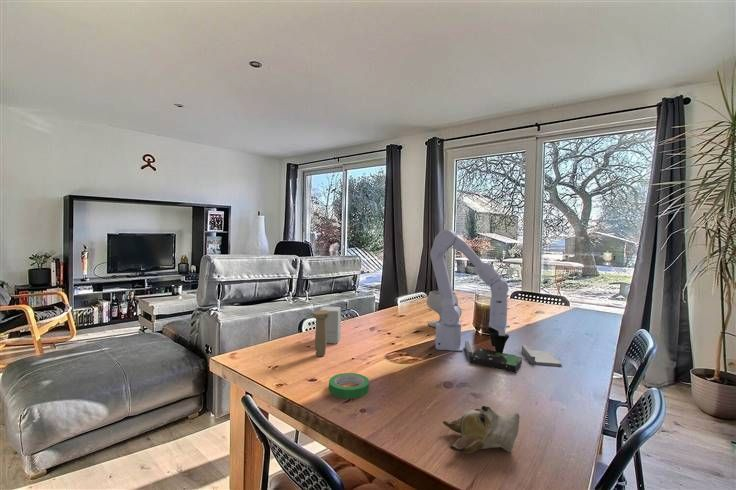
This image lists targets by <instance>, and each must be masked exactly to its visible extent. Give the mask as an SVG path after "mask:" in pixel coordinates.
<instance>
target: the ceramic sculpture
mask: <svg viewBox="0 0 736 490" xmlns="http://www.w3.org/2000/svg"><path fill="white" fill-rule="evenodd" d="M442 424H443V425H444V426H446V427H447V428H449V429H450V430H452V431H454V432H455V433H458V434H461V437H459V438H457V440H456V441H455V442H454V443H453V444H451V445H449V446H448V447H449V449H451V450H453V451H455V452H458V453H462V454H466V455H467V454H469V455H470V454H473V453H475V452H477V451H479V450H482V449H483V450H485V449H490V448H502V449H503V450H505V452H508V453H509V452H510V453H511V451H512V450H513V448H514V444H515V440H516V438H517V436H518V434H519V428H520V414H519V413H517V412H516V413H509V412H506V413H503V414H497V413H496V411H495V410H494V409H493V408H491V407H490V406H486V405H482V406H481V408H480V409H479V408H474V409H468V410H467V411H466V412H464V414H463V415H462V416H461V417H460V418H458V419H457V420H453V421H447V420H444V421H442Z"/></svg>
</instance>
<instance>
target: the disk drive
mask: <svg viewBox="0 0 736 490" xmlns="http://www.w3.org/2000/svg"><path fill="white" fill-rule="evenodd" d="M522 361H523V359H522V356H519V355H515V354H509V353H505V352H503V353H500V352H496V351H495V350H489V349H486V348H485V349H484V348H479V347H478V348H476V350H474V351H473V352H472V354H471V356H470V359H469V363H470V364H472V365H473V364H474V365H477V366H482V367H487V368H490V369H491V368H492V369H496V370H501V371H505V372H509V373H513V374H516V373H517V372H518V370H519V368H520V367H521V365H522V363H523V362H522Z"/></svg>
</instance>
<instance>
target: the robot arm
mask: <svg viewBox="0 0 736 490" xmlns="http://www.w3.org/2000/svg"><path fill="white" fill-rule="evenodd" d="M450 248H451V249H453V250H455V251H459V252H460V253H462V255H463V256H464V257H466V259H467V260H468V261H469V262H470V263H471V264H472V265H473V266H474V267H475V269H474V273H475V274H477V275H476V276H478V277H479V278H480V279H481V281H483V283H485V285H486V286H488V287H489V288H490V289H489V290H490V292H491V294H490V295H491V297H490V301H489V302H490V303H489V305H490V306H489V323H488V325H487V326H486V327H487V330H488V333H489V337H490V342H491V347H494V351H495V352H500V353H504V349H505V346H506V343H507V341H508V340H509V338H510V335H509V333H506V330H507V329H508V328H511V325H510V324H509V323H508V322H507V320H508V292H509V291H510V290H509V285H508V282H507V280H506V279H505V278H504V277H503V275H502V274H501V273H500V274H499V272H498V271H497V270H496V269H495V268H494V265H493V264H492V263H489V261H484V260H481V258H480V257H479V256H478V254H477V253H476V252H475V251H474V249H472V247H471V246H470V245H469V244H468V242H467V241H465V239H464V238H463V237H462V236H460V235H459V234H457V232H455V231H454V230H453V229H442V230H441V231H439V232H438V234H437V235H436V236H435V237H434V241H433V244H432V247H431V250H430V252H429V254H430V255H429V256H430V259H431V260H430V261H431V264H432V267H433V268H432V269H433V272H434V276H435V280H436V284H437V289H438V291H439V293H440V297H441V307H442V315H441V318H442V321H441V323H436V327H435V337H434V343H435V350H440V351H441V350H442V351H444V350H445V351H452V352H453V351H454V352H463V347H462V344H461V340H462V322H461V321H460V318H461V316H462V308H461V307H460V306H459V304H458V305H457V302H456V299H455V297H454V294H453V286H452V284H451V280H450V275H449V271H448V268H447V262H446V259H445V255H446V254H447V252H448V250H449V249H450Z"/></svg>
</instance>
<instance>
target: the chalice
mask: <svg viewBox="0 0 736 490" xmlns="http://www.w3.org/2000/svg"><path fill="white" fill-rule="evenodd" d="M453 294H454V297H455V299H456V302H457V305H458V306H459V299H458V296H457V294H456V293H455V292H453ZM426 298H427V299H426V305H427V306H428V308H429V309H431V310H432V311H433V312H435V313H437V314H438V316H439V319H438V320H432V321H429V322H428V326H431V327H432V328H436V323H441V321H442V318H441V315H442V307H441V297H440V293H439V290H432V291H430V292H429V293H428V295H427V297H426Z"/></svg>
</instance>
